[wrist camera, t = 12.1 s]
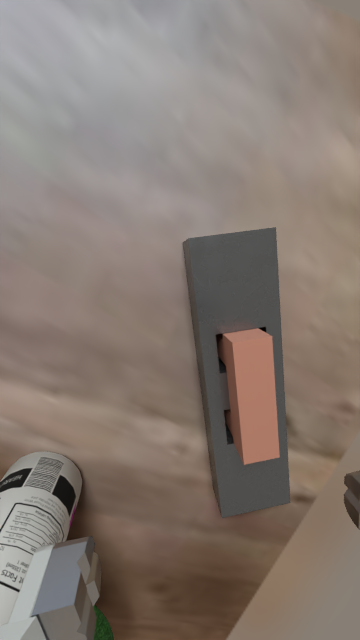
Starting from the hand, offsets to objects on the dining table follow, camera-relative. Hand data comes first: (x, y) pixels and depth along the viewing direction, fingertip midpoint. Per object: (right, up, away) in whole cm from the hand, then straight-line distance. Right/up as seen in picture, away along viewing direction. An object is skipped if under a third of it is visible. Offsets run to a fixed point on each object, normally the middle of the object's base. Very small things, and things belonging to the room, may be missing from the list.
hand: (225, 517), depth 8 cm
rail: (+5, 0, +22) cm, 23 cm away
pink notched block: (+5, 0, +22) cm, 23 cm away
